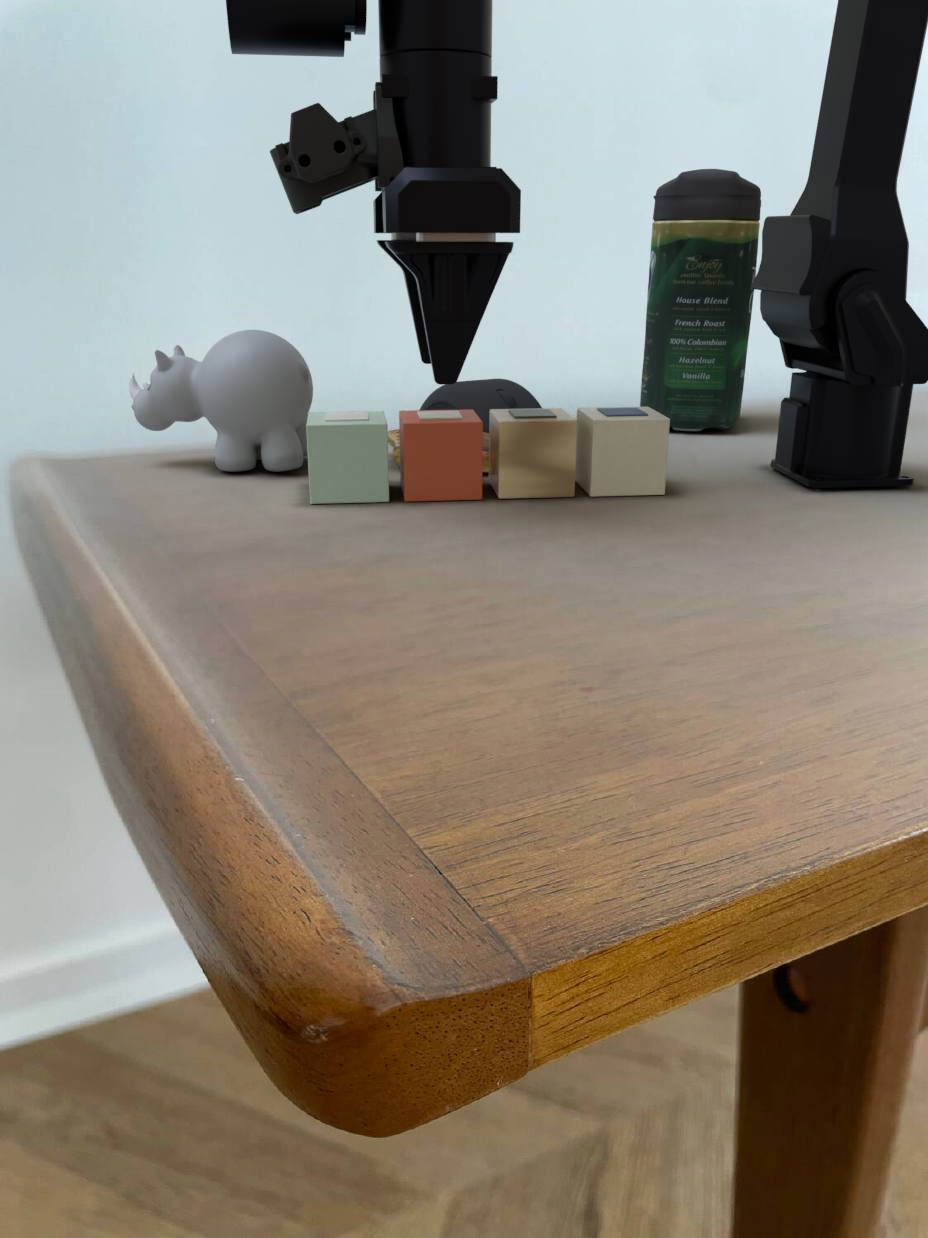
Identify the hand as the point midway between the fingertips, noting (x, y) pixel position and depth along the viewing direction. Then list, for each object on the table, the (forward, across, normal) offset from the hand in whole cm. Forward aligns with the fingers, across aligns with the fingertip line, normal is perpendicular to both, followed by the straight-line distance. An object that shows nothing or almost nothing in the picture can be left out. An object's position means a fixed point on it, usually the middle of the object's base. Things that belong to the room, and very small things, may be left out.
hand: (437, 372), depth 58 cm
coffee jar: (+7, -21, +22) cm, 31 cm away
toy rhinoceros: (+7, -9, -13) cm, 17 cm away
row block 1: (+7, 0, -5) cm, 9 cm away
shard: (+7, -8, +3) cm, 11 cm away
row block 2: (+7, 0, +5) cm, 9 cm away
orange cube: (+7, 0, 0) cm, 7 cm away
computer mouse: (+7, -18, +5) cm, 20 cm away
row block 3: (+7, 0, +11) cm, 13 cm away
